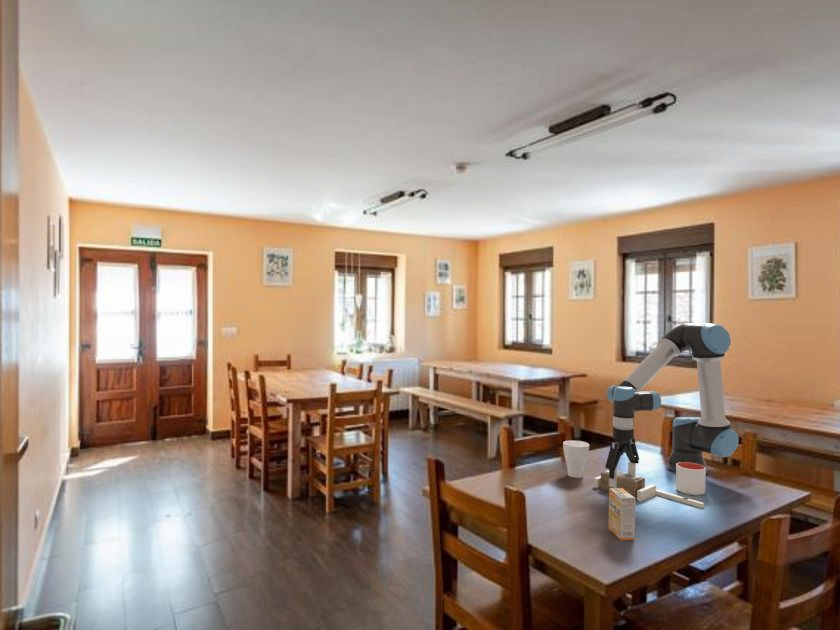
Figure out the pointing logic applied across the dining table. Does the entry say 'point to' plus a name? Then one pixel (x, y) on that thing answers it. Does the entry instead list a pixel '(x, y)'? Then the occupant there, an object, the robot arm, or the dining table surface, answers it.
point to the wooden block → (624, 482)
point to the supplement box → (622, 513)
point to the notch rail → (652, 491)
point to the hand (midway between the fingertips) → (622, 483)
